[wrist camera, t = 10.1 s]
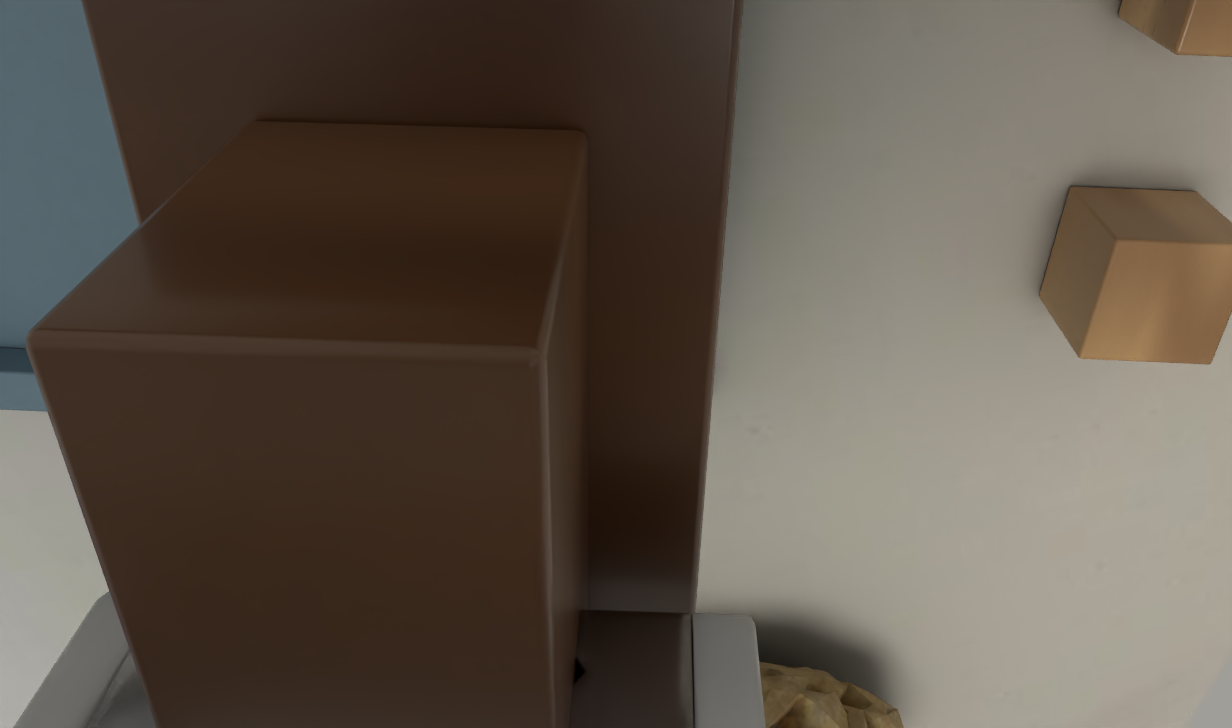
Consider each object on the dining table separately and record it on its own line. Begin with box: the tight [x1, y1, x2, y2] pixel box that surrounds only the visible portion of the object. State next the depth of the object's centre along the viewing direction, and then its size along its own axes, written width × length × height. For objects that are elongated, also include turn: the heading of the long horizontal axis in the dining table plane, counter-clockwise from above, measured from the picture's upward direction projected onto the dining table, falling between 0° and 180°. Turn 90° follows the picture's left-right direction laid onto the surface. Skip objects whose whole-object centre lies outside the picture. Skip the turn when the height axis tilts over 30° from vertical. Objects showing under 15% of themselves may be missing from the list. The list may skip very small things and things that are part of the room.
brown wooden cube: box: [1039, 187, 1232, 364], centre depth 24 cm, size 3×3×3 cm
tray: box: [0, 0, 139, 411], centre depth 22 cm, size 17×22×2 cm
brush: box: [26, 0, 743, 728], centre depth 9 cm, size 12×4×6 cm, turn 179°
